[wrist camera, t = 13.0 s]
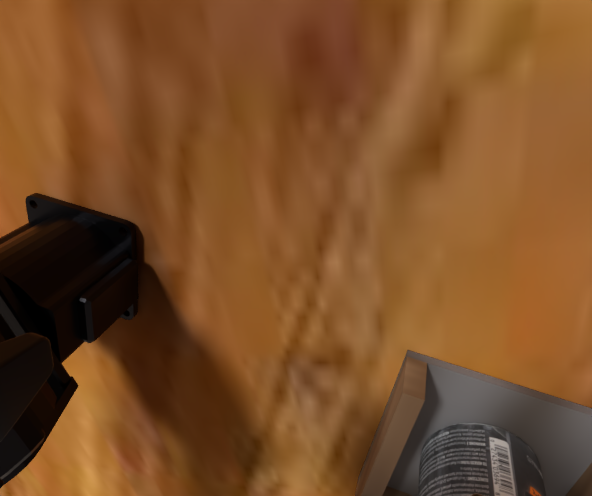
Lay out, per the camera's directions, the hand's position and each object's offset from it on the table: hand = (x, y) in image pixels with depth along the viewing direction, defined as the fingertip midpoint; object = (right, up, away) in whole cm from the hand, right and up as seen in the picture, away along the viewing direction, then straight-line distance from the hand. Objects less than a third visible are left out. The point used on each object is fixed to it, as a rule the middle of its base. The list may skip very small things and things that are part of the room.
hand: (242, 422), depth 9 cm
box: (+11, -8, +16) cm, 21 cm away
